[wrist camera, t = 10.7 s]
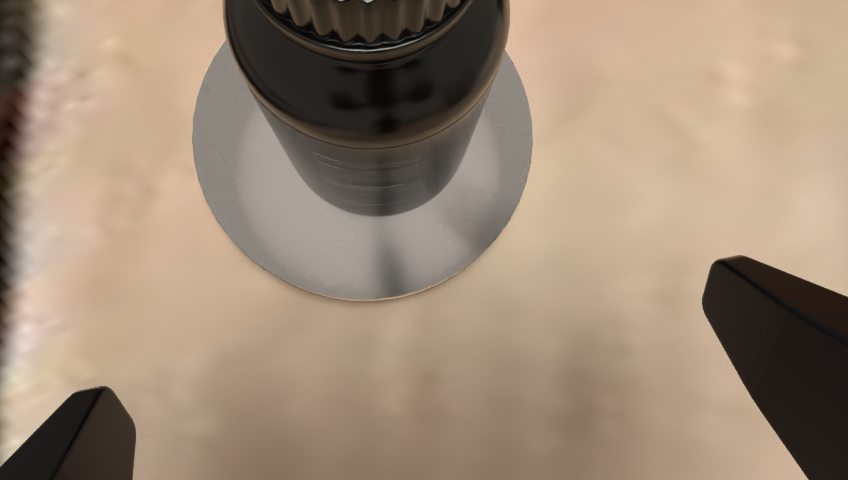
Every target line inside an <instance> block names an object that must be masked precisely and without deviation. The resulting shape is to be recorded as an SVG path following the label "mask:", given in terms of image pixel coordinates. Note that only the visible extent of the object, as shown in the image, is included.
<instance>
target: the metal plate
mask: <svg viewBox="0 0 848 480" xmlns="http://www.w3.org/2000/svg"><path fill="white" fill-rule="evenodd" d="M192 141H193V153H194V162H195V166H196V171H197V175H198V180H199V183H200V186H201V188H202V191H203V193H204V196H205V199H206V201H207V203H208V205H209V207H210V209H211V211H212V212H213V214H214V216H215V218H216V220H217V222H218V223H219V224H220V226H221V227H222V228H223V230H224V231H225V232H226V234H227V235H228V236H229V238H230V239H231V240H232V241H233V242H234V243H235V244H236V245H237V246H238V247H239V248H240V249H241V250H242V251H243V252H244V253H245V254H246V255H247V256H248V257H249V258H250V259H252V260H253V261H254V262H256V263H257V264H258V265H260V266H261V267H262V268H263V269H265V270H266V271H268V272H270V273H272V274H273V275H275V276H277V277H279V278H280V279H282V280H284V281H286V282H288V283H290V284H292V285H294V286H297V287H299V288H302V289H304V290H307V291H309V292H311V293H314V294H318V295H322V296H326V297H330V298H334V299H341V300H350V301H382V300H389V299H396V298H401V297H405V296H408V295H412V294H415V293H419V292H422V291H424V290H426V289H429V288H431V287H433V286H436V285H438V284H440V283H442V282H443V281H445V280H447V279H449V278H450V277H452V276H454V275H455V274H457V273H458V272H460V271H461V270H462V269H463V268H465V267H466V266H467V265H469V264H470V263H471V262H472V261H474V260H475V259H476V258H477V257H479V256H480V255H481V254H482V253H483V252H484V251H485V250H486V249H487V248H488V247H489V246H490V244H491V243H492V242H493V241H494V240H495V239H496V238H497V237H498V235H499V234H500V232H501V231H502V230H503V228H504V227H505V226H506V224H507V223H508V222H509V220H510V218H511V216H512V214H513V212H514V210H515V209H516V207H517V205H518V203H519V201H520V198H521V195H522V193H523V190H524V187H525V185H526V181H527V177H528V173H529V168H530V164H531V155H532V143H533V139H532V120H531V115H530V109H529V104H528V99H527V96H526V93H525V90H524V87H523V84H522V81H521V79H520V77H519V75H518V72H517V70H516V68H515V66H514V64H513V62H512V61H511V59H510V57H509V56H508V54H507V53H506V51H504V54H503V58H502V61H501V64H500V67H499V69H498V72H497V74H496V77H495V80H494V82H493V85H492V87H491V90H490V92H489V95H488V97H487V100H486V102H485V105H484V107H483V110H482V113H481V115H480V118H479V120H478V123H477V125H476V128H475V130H474V133H473V135H472V138H471V140H470V143H469V145H468V148H467V150H466V153H465V156H464V158H463V160H462V162H461V164H460V166H459V168H458V170H457V172H456V173H455V175H454V176H453V178H452V179H451V181H450V182H449V183H448V184H447V186H446V187H445V188H444V189H443V190H442V191H441V192H440V193H439V194H438V195H436V196H435V197H434V198H433V199H431V200H430V201H428V202H427V203H425V204H424V205H422V206H420V207H418V208H416V209H413V210H411V211H408V212H405V213H402V214H398V215H393V216H384V217H371V216H362V215H357V214H353V213H349V212H346V211H344V210H341V209H339V208H337V207H335V206H333V205H331V204H329V203H328V202H326V201H324V200H323V199H322V198H320V197H319V196H318V195H317V194H315V193H314V192H313V191H312V190H311V189H310V188H309V187H308V186H307V184H306V183H305V182H304V181H303V180H302V178H301V177H300V175H299V174H298V172H297V171H296V169H295V168H294V166H293V165H292V163H291V161H290V159H289V158H288V156H287V154H286V153H285V151H284V149H283V147H282V146H281V144H280V142H279V140H278V139H277V137H276V135H275V133H274V132H273V130H272V128H271V127H270V125H269V123H268V121H267V120H266V118H265V116H264V114H263V113H262V111H261V109H260V107H259V106H258V104H257V102H256V100H255V99H254V97H253V95H252V94H251V92H250V90H249V88H248V86H247V84H246V82H245V81H244V79H243V77H242V75H241V73H240V72H239V70H238V68H237V66H236V63H235V61H234V59H233V56H232V54H231V51H230V48H229V45H228V42H227V40H226V41H225V42H224V44H223V45H222V47H221V48H220V50H219V51H218V52H217V54H216V55H215V57H214V59H213V61H212V63H211V65H210V67H209V69H208V71H207V72H206V74H205V77H204V80H203V82H202V85H201V88H200V91H199V94H198V97H197V102H196V107H195V112H194V118H193V135H192Z"/></svg>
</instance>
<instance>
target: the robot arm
mask: <svg viewBox="0 0 848 480" xmlns="http://www.w3.org/2000/svg"><path fill="white" fill-rule="evenodd" d="M702 306H703V310H704V313H705V315H706V317H707V319H708V321H709V323H710V324H711V326H712V328H713V330H714V332H715V333H716V335H717V337H718V339H719V341H720V342H721V344H722V346H723V348H724V350H725V351H726V353H727V355H728V357H729V359H730V360H731V362H732V364H733V366H734V368H735V369H736V371H737V373H738V375H739V377H740V378H741V380H742V382H743V384H744V385H745V387H746V389H747V390H748V392H749V394H750V395H751V397H752V399H753V400H754V402H755V403H756V405H757V406H758V408H759V409H760V411H761V412H762V414H763V415H764V417H765V418H766V419H767V421H768V422H769V424H770V425H771V427H772V428H773V429H774V431H775V432H776V434H777V435H778V437H779V438H780V439H781V441H782V442H783V444H784V445H785V447H786V448H787V449H788V451H789V452H790V454H791V455H792V457H793V458H794V459H795V461H796V462H797V464H798V465H799V467H800V468H801V469H802V471H803V472H804V474H805V475H806V477H807V478H808V479H809V480H848V297H847V296H844V295H842V294H839V293H836V292H834V291H831V290H829V289H826V288H824V287H821V286H819V285H816V284H814V283H811V282H809V281H806V280H804V279H801V278H799V277H796V276H794V275H791V274H789V273H786V272H784V271H781V270H779V269H776V268H774V267H771V266H769V265H766V264H764V263H761V262H759V261H756V260H754V259H751V258H749V257H746V256H742V255H737V256H732V257H727V258H722V259H718V260H716V261H715V262H714V263H713V264H712V265H711V268H710V272H709V275H708V279H707V282H706V286H705V290H704V293H703V297H702ZM135 443H136V429H135V425H134V422H133V420H132V418H131V417H130V415H129V414H128V412H127V411H126V409H125V408H124V406H123V405H122V403H121V402H120V400H119V399H118V397H117V396H116V394H115V393H114V392H113V390H112V389H111V388H109V387H107V386H99V387H95V388H90V389H85V390H80V391H77V392H75V393H73V394H72V395H71V396H70V397H69V398H68V399H67V400H66V401H65V402H64V403H63V404H62V405H61V406H60V407H59V408H58V409H57V410H56V411H55V412H54V413H53V414H52V415H51V416H50V417H49V418H48V419H47V420H46V421H45V422H44V423H43V424H42V425H41V426H40V427H39V428H38V429H37V430H36V431H35V432H34V433H33V434H32V435H31V436H30V437H29V438H28V439H27V440H26V441H25V442H24V443H23V444H22V445H21V446H20V447H19V448H18V449H17V451H16V452H15V453H14V454H13V455H12V456H11V457H10V458H9V459H8V460H7V461H6V462H5V463H4V464H3V465H2V466H1V467H0V480H132V479H133V467H134V455H135Z"/></svg>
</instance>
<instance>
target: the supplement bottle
mask: <svg viewBox="0 0 848 480" xmlns="http://www.w3.org/2000/svg"><path fill="white" fill-rule="evenodd" d="M223 21H224V28H225V34H226V38H227V42H228V45H229V48H230V51H231V54H232V56H233V59H234V61H235V63H236V66H237V68H238V70H239V72H240V73H241V75H242V77H243V79H244V81H245V82H246V84H247V86H248V88H249V90H250V92H251V94H252V95H253V97H254V99H255V100H256V102H257V104H258V106H259V107H260V109H261V111H262V113H263V114H264V116H265V118H266V120H267V121H268V123H269V125H270V127H271V128H272V130H273V132H274V133H275V135H276V137H277V139H278V140H279V142H280V144H281V146H282V147H283V149H284V151H285V153H286V154H287V156H288V158H289V159H290V161H291V163H292V165H293V166H294V168H295V169H296V171H297V172H298V174H299V175H300V177H301V178H302V180H303V181H304V182H305V183H306V184H307V186H308V187H309V188H310V189H311V190H312V191H313V192H314V193H315V194H317V195H318V196H319V197H320V198H322V199H323V200H324V201H326V202H328V203H329V204H331V205H333V206H335V207H337V208H339V209H341V210H344V211H346V212H349V213H353V214H357V215H362V216H371V217H384V216H393V215H398V214H402V213H405V212H408V211H411V210H413V209H416V208H418V207H420V206H422V205H424V204H425V203H427V202H428V201H430V200H431V199H433V198H434V197H435V196H436V195H438V194H439V193H440V192H441V191H442V190H443V189H444V188H445V187H446V186H447V184H448V183H449V182H450V181H451V179H452V178H453V176H454V175H455V173H456V172H457V170H458V168H459V166H460V164H461V162H462V160H463V158H464V156H465V153H466V150H467V148H468V145H469V143H470V140H471V138H472V135H473V133H474V130H475V128H476V125H477V123H478V120H479V118H480V115H481V113H482V110H483V107H484V105H485V102H486V100H487V97H488V95H489V92H490V90H491V87H492V85H493V82H494V80H495V77H496V74H497V72H498V69H499V67H500V64H501V61H502V58H503V54H504V51H505V47H506V43H507V39H508V33H509V26H510V3H509V0H223Z"/></svg>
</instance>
